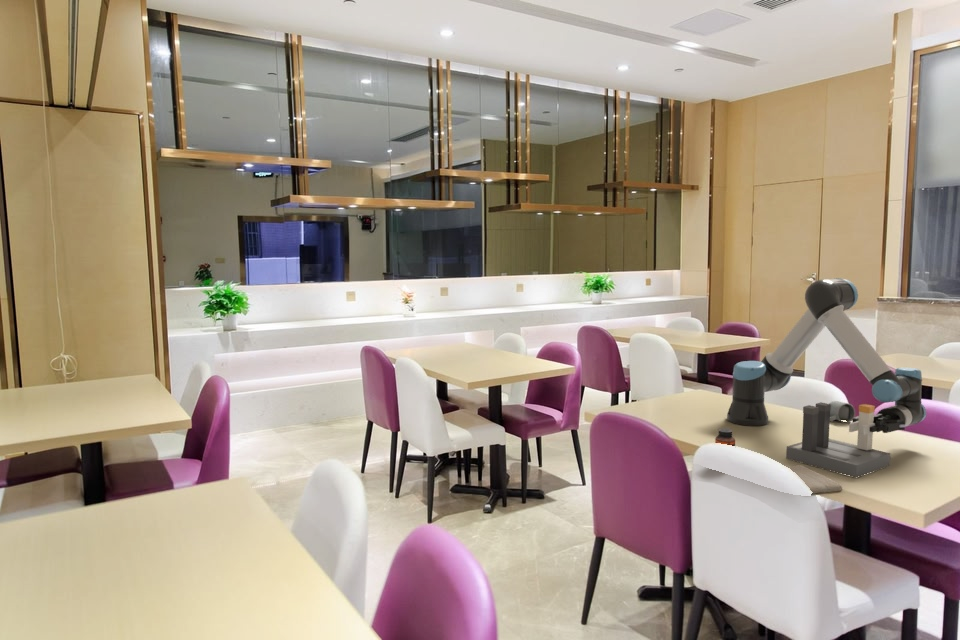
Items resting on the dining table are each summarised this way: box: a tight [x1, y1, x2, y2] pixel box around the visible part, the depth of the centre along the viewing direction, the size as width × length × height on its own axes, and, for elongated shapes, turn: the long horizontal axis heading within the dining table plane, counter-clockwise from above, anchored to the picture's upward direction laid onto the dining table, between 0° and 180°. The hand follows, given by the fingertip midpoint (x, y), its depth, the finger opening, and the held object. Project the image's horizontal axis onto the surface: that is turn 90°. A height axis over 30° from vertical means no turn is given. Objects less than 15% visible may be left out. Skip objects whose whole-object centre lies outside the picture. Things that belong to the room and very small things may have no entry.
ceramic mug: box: [828, 400, 856, 423], centre depth 251 cm, size 11×8×8 cm
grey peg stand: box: [785, 401, 891, 478], centre depth 201 cm, size 22×20×18 cm
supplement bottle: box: [714, 428, 736, 447], centre depth 200 cm, size 6×6×11 cm
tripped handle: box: [856, 403, 876, 450], centre depth 201 cm, size 3×3×14 cm
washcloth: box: [787, 464, 843, 495], centre depth 185 cm, size 12×18×3 cm, turn 13°
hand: (856, 429), depth 198 cm, fingers closed on tripped handle, 3 cm apart
